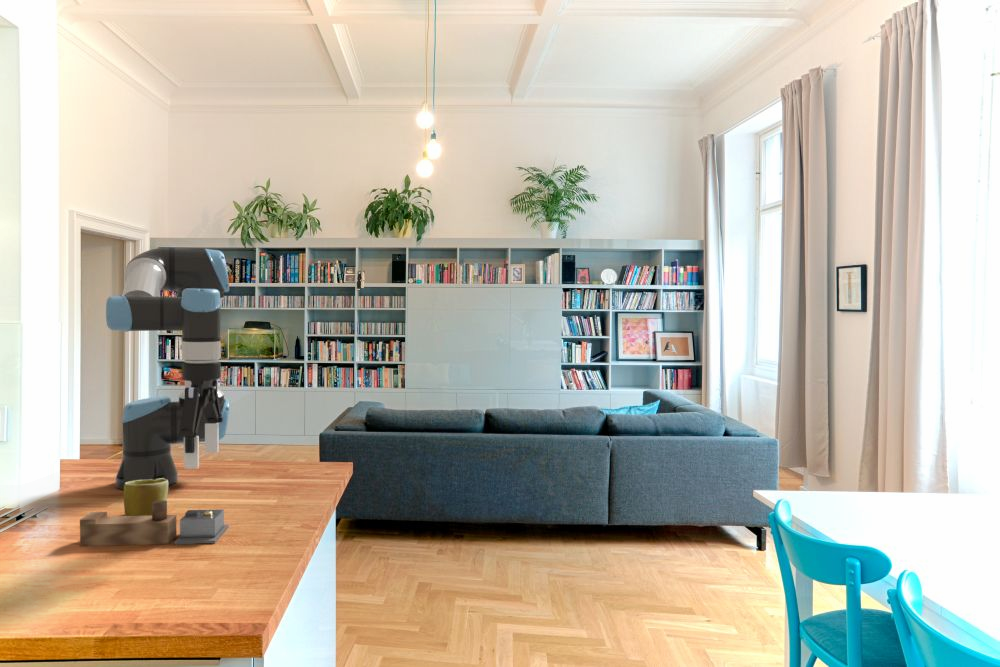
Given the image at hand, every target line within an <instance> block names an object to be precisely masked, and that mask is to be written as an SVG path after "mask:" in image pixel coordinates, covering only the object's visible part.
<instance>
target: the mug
mask: <svg viewBox="0 0 1000 667" xmlns="http://www.w3.org/2000/svg"><path fill="white" fill-rule="evenodd" d="M168 493H169V485H168V480H167V479H164V478H159V479H156V480H152V479H148V480H135V481H129V482H126V483H125V485H124V490H123V506H124V507H123V508H124V516H151V515H152V503H153V502H155V501H167V500H168ZM167 502H168V501H167Z"/></svg>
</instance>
